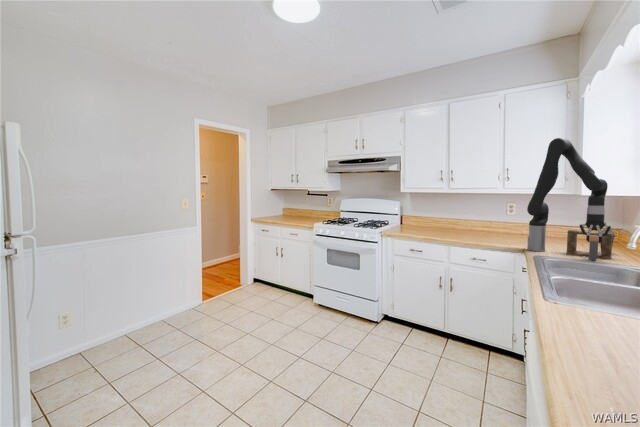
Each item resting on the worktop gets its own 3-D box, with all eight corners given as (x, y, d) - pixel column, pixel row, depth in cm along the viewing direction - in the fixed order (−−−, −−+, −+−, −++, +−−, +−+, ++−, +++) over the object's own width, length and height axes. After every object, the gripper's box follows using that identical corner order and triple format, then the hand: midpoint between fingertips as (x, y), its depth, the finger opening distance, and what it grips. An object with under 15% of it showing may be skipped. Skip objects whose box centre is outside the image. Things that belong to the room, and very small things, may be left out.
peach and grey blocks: (587, 260, 169) (588, 236, 168) (589, 257, 175) (590, 234, 174) (597, 261, 166) (598, 237, 165) (598, 258, 172) (599, 235, 171)
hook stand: (566, 254, 184) (567, 231, 183) (568, 252, 191) (569, 229, 190) (610, 259, 169) (611, 234, 168) (611, 256, 176) (612, 232, 175)
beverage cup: (616, 254, 182) (618, 223, 180) (601, 253, 184) (603, 222, 183) (610, 252, 188) (611, 222, 187) (595, 251, 191) (597, 221, 190)
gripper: (578, 213, 171) (577, 241, 173) (612, 214, 161) (610, 244, 162) (580, 212, 176) (578, 240, 178) (613, 213, 166) (611, 242, 167)
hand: (594, 242), depth 170 cm, fingers closed on peach and grey blocks, 4 cm apart
